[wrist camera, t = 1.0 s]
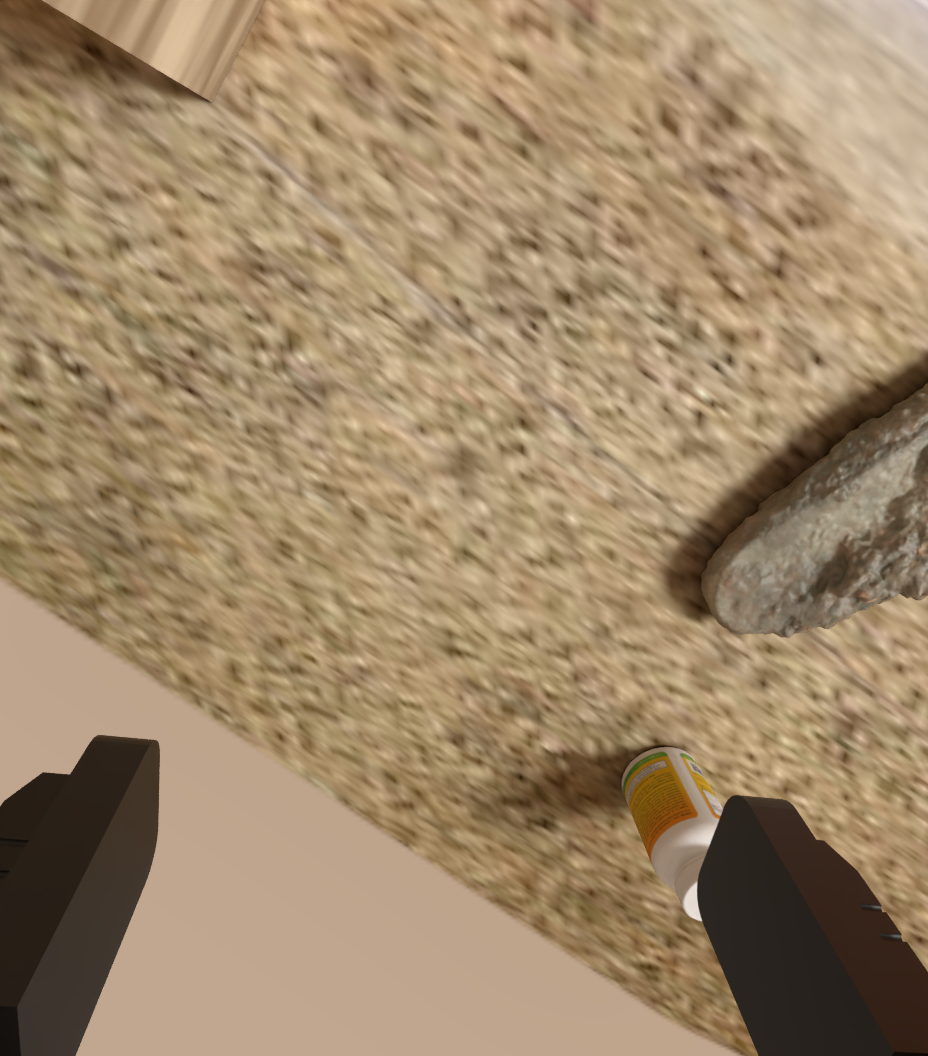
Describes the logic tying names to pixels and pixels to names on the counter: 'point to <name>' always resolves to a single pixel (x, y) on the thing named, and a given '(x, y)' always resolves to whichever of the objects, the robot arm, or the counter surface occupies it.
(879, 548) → the long grey stone
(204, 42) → the short stand
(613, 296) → the counter surface
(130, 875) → the robot arm
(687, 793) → the supplement bottle
